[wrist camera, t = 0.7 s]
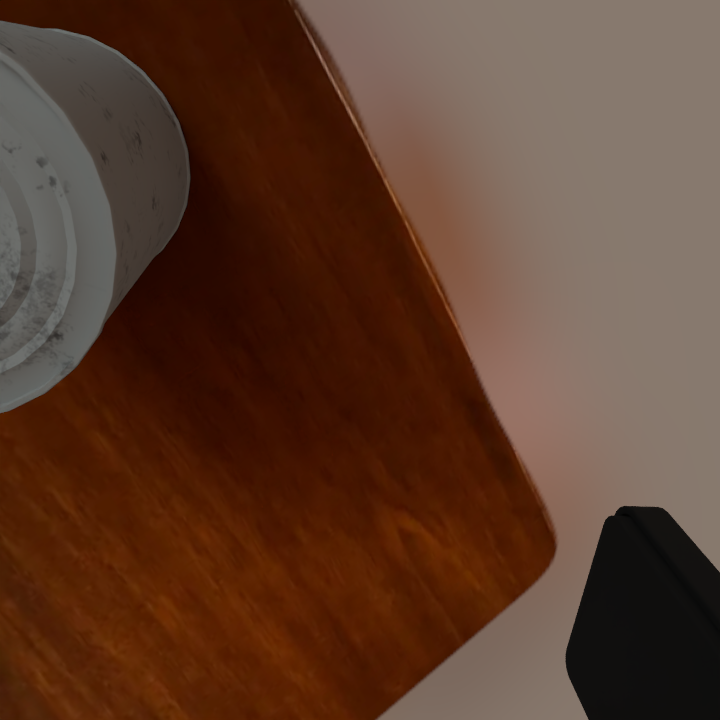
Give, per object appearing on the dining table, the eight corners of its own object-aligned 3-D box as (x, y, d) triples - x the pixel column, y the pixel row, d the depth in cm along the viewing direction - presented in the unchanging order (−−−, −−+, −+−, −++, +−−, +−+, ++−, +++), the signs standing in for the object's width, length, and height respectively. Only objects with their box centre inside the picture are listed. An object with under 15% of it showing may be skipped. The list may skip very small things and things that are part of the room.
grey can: (-19, 296, 28) (-232, 449, 16) (-108, 43, 24) (-466, 13, 12) (211, 267, 28) (159, 395, 17) (160, 14, 24) (48, -40, 13)
